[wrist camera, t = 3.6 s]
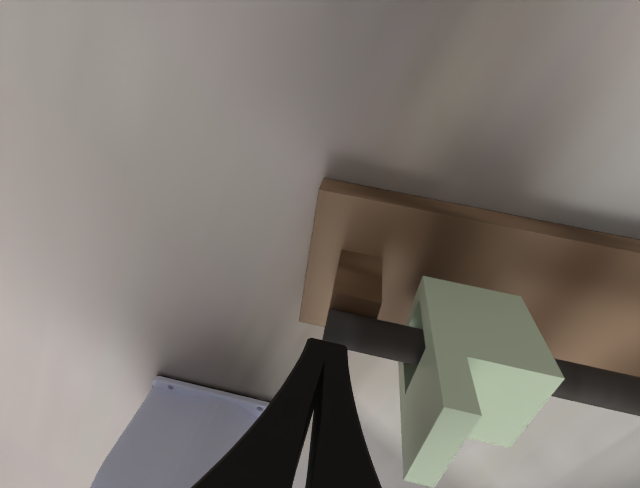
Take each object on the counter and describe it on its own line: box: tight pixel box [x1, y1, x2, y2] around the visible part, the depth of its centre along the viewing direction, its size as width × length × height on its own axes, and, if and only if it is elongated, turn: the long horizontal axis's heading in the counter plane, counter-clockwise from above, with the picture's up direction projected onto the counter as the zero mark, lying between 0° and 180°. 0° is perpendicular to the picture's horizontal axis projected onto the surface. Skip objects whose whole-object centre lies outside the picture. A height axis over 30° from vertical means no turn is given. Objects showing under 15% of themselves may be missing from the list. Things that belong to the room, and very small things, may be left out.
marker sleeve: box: [398, 276, 565, 488], centre depth 13 cm, size 4×4×6 cm
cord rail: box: [299, 178, 640, 416], centre depth 15 cm, size 22×8×7 cm, turn 82°
